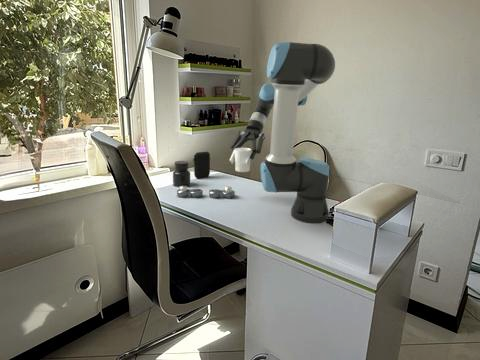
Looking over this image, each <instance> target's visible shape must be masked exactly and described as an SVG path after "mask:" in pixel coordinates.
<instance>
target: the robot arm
mask: <svg viewBox="0 0 480 360" xmlns="http://www.w3.org/2000/svg"><path fill="white" fill-rule="evenodd" d="M335 68H336V60H335V57H334V55H333V53H332V52H331V49H329V48H327V47H326V46H324V45H322V44H320V43H319V44H318V43H303V42H293V41H292V42H290V41H286V42H276V43H275V44H273V46H272V47H271V50H270V53H269V56H268V62H267V65H266V76H267V78H268V79H271V80H270V81H271V82H268V83H264V84H263V85H262V86H261V88H260V91H259V95H258V98H257V103H256V106H255V108H254V110H253V112H252V114H251V116H250V119H249V120H248V123H247V125H246V128H245V130H244V131H241V130H238V132H237V135H236V137H235V138H234V140H233V141H232V143H231V144H230V148H231V153H230V158H229V162H230V163H231V164H234V163H235V154H234V149H235V148H242V146H243V145H244V144H245V143H247V142H248V141H250V142H251V148H252V150H251V151H250V153H249V155H248V157H247V160H246V162H245V163H246V165H247V166H249V164H250V165H251V163H250V162H251V161H252V160H254V158H255V156H256V155H257V154H261V152H262V148H263V145H264V144H263V143H264V140H265V139H266V135H265V133H264V132H263V130H264V127H265V125H266V124H267V123H266V122H267V120H268V118H269V116H270V113H271V111H272V109H273V111H272V121H271V122H272V124H271V135H270V136H271V137H270V148H269V149H270V150H269V154H268V155H266V156H265V161H262V162H261V163H260V180H261V184H262V187H263V189H264V191H265V192H266V193H296V197H295V200H294V201H293V204H292V207H291V209H290V215H291V217H292V218H294V219H296V220H298V221H301V222H304V223H310V224H311V223H313V224H317V223H324V222H326V219H327V218H328V217H330V212H329V206H328V203H327V196H328V195H327V194H328V187H329V177H330V165H329V164H328V163H327V162H325V161H322V160H320V159H315V158H310V157H301V158H299V160H298V162H297V158H296V157H295V156H294V155H293V154H294V144H295V135H296V126H297V125H296V124H297V118H298V117H297V116H298V115H297V114H298V106H305V105H306V104H307V101H308V95H309V94H310V93H311V92H312V91H313V90H315V88H317V87H318V86H319V85H321V84H324V83H326V82H327V81H328V80H329V79H330V78H332V76H333V74H334V72H335V70H336V69H335ZM262 132H263V133H262ZM258 138H259V139H258ZM257 139H258V142H257ZM328 219H329V218H328Z"/></svg>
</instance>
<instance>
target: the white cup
mask: <svg viewBox="0 0 480 360" xmlns="http://www.w3.org/2000/svg"><path fill="white" fill-rule="evenodd" d="M250 151H252V149H251V148H249V147H240V148H235V149H234V154H235V160H234V165H235V166H234V168H235V172H237V173H248V172H250V171H251V170H250V169H251V162H250V164H249V166H247V165H246V163H245V162H246V160H247V157H248V155H249V153H250Z"/></svg>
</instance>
